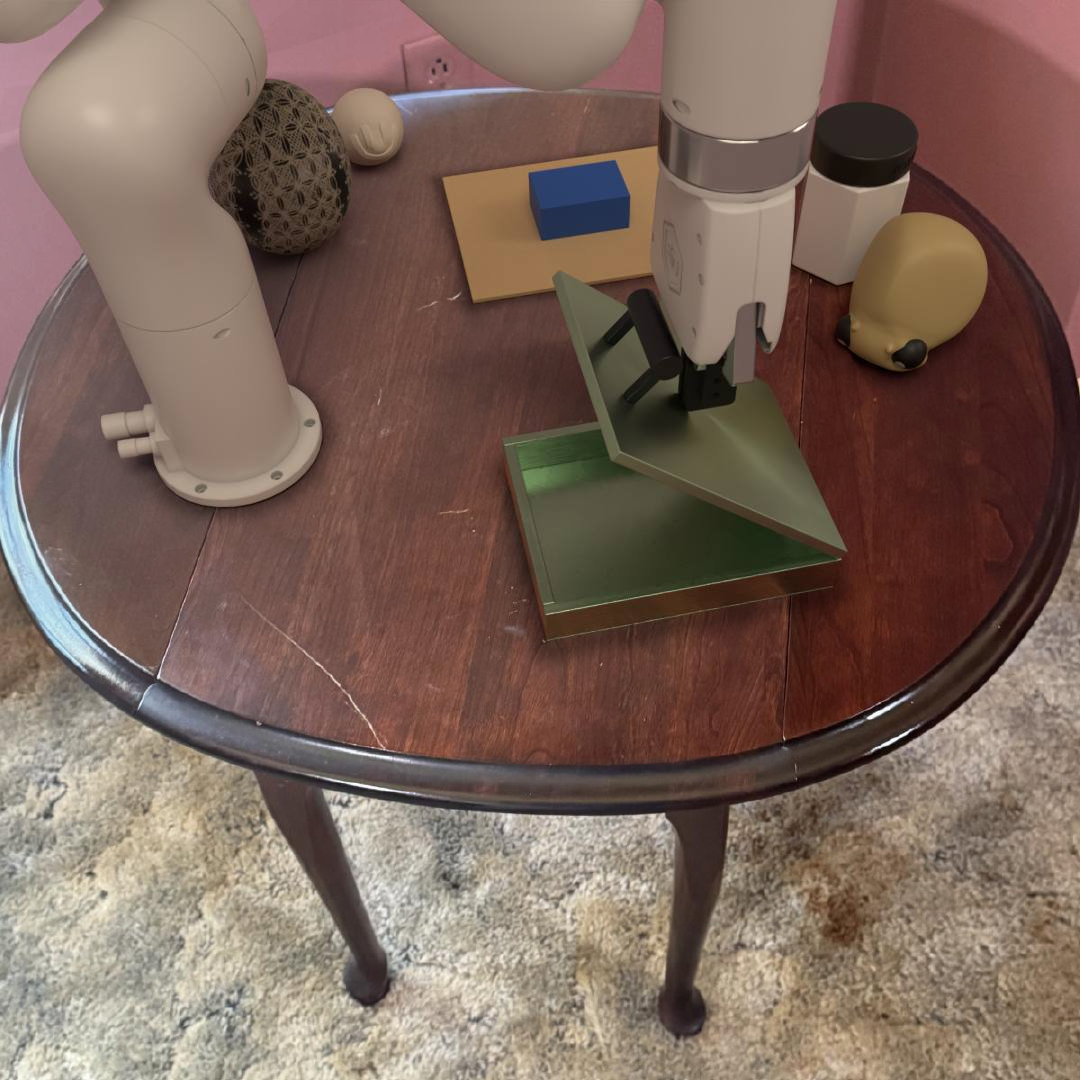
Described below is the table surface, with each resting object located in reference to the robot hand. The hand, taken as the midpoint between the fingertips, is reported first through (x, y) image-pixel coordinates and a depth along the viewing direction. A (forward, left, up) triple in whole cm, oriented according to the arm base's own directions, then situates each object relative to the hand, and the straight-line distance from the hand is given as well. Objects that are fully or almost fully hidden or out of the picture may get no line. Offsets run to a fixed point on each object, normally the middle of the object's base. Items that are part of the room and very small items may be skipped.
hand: (706, 398), depth 69 cm
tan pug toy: (+22, +15, -13) cm, 29 cm away
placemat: (0, +36, -13) cm, 38 cm away
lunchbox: (-2, 0, -13) cm, 13 cm away
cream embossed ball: (-17, +50, -13) cm, 54 cm away
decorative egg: (-25, +39, -13) cm, 48 cm away
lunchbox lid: (0, 0, -2) cm, 2 cm away
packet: (0, +36, -12) cm, 38 cm away
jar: (+21, +26, -13) cm, 36 cm away
